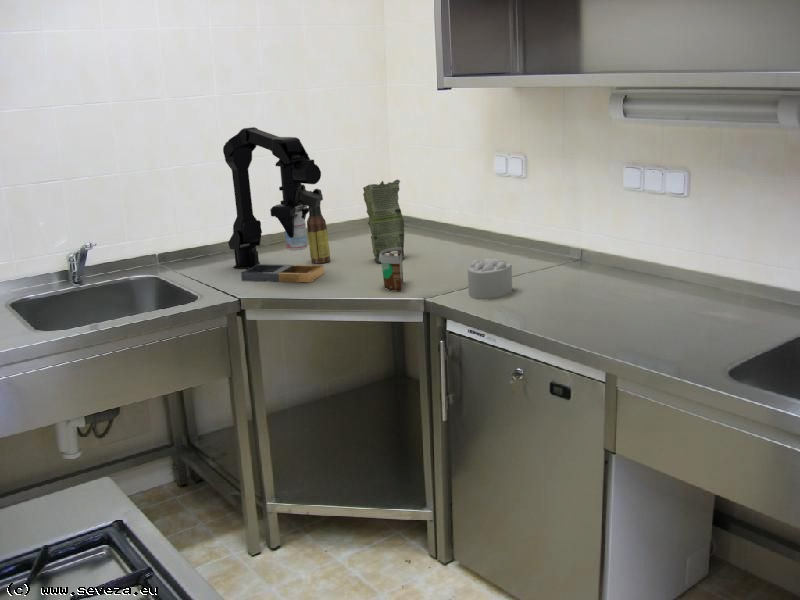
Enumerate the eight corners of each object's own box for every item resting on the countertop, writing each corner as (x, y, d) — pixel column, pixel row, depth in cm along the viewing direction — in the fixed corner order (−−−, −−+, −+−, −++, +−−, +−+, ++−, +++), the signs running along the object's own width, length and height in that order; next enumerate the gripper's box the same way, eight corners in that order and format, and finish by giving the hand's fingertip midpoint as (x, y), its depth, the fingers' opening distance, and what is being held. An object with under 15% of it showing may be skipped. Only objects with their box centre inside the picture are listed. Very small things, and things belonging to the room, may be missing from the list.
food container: (382, 281, 241) (380, 247, 239) (403, 280, 241) (401, 246, 238) (378, 293, 230) (376, 257, 227) (401, 292, 229) (399, 256, 226)
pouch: (366, 264, 263) (361, 184, 257) (373, 255, 275) (368, 179, 268) (401, 263, 262) (397, 183, 255) (407, 255, 273) (403, 177, 266)
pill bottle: (287, 247, 252) (283, 210, 248) (307, 246, 252) (304, 208, 249) (286, 251, 246) (283, 213, 243) (307, 250, 246) (304, 212, 243)
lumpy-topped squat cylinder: (516, 288, 227) (516, 257, 224) (496, 301, 216) (495, 268, 214) (481, 285, 232) (480, 254, 230) (459, 297, 221) (458, 265, 219)
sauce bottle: (332, 259, 273) (327, 198, 267) (328, 263, 267) (323, 201, 261) (312, 260, 273) (307, 199, 268) (308, 264, 267) (302, 202, 262)
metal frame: (241, 280, 251) (240, 272, 251) (258, 271, 261) (257, 263, 261) (309, 282, 245) (308, 274, 244) (324, 273, 255) (323, 265, 254)
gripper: (303, 187, 233) (308, 242, 237) (329, 177, 250) (333, 229, 254) (267, 187, 236) (272, 241, 240) (295, 177, 253) (299, 229, 257)
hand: (296, 235), depth 248 cm, fingers closed on pill bottle, 6 cm apart
